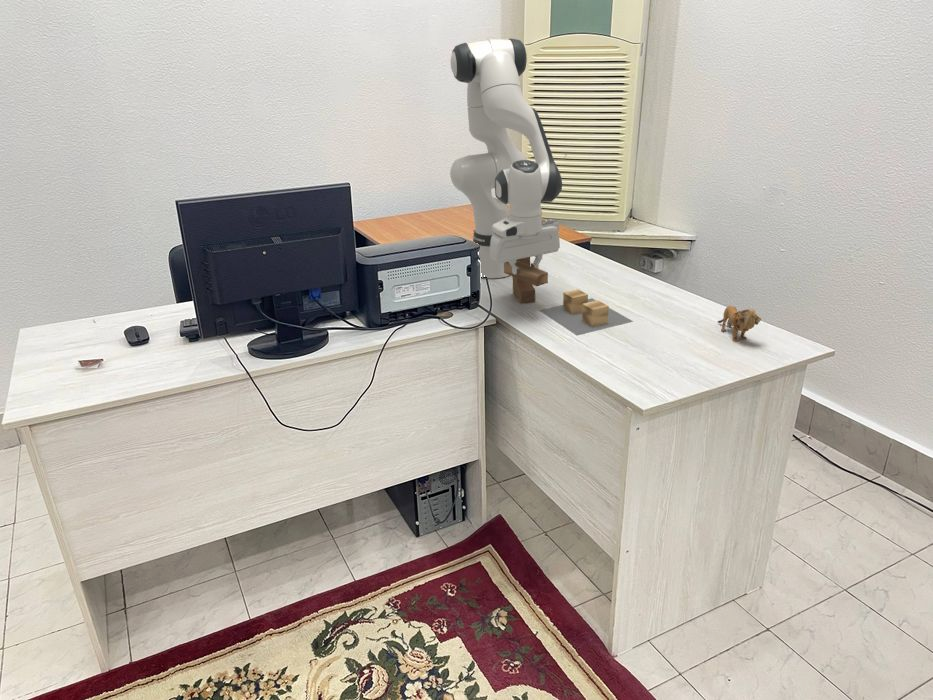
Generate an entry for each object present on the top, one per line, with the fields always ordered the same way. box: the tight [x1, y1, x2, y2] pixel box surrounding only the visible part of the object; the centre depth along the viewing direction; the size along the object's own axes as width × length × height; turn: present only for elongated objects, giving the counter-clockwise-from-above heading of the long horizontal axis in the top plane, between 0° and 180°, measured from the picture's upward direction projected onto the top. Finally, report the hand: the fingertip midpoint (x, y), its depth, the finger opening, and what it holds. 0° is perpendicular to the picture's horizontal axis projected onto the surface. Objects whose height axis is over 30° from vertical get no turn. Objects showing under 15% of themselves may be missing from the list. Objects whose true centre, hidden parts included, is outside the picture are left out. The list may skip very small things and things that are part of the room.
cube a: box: [562, 288, 589, 315], centre depth 193 cm, size 5×5×5 cm
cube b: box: [582, 299, 610, 327], centre depth 185 cm, size 5×5×5 cm
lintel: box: [504, 260, 549, 287], centre depth 189 cm, size 4×14×3 cm, turn 36°
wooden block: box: [512, 257, 536, 305], centre depth 201 cm, size 9×4×18 cm, turn 13°
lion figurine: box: [717, 305, 762, 343], centre depth 173 cm, size 15×5×9 cm, turn 14°
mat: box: [538, 297, 634, 336], centre depth 190 cm, size 20×18×1 cm
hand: (525, 271), depth 189 cm, fingers closed on lintel, 4 cm apart
